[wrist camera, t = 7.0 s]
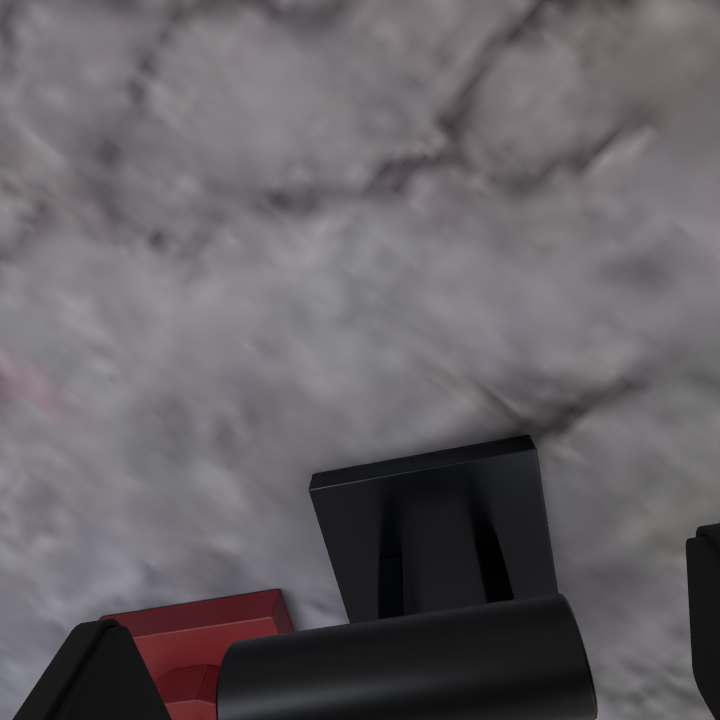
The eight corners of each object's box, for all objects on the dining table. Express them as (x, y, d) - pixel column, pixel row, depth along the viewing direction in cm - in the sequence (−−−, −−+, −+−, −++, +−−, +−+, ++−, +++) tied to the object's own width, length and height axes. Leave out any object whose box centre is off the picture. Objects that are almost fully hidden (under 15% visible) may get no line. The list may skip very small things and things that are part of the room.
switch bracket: (311, 473, 23) (229, 809, 11) (529, 433, 22) (692, 759, 10) (375, 683, 27) (364, 1099, 15) (564, 658, 26) (711, 1086, 14)
